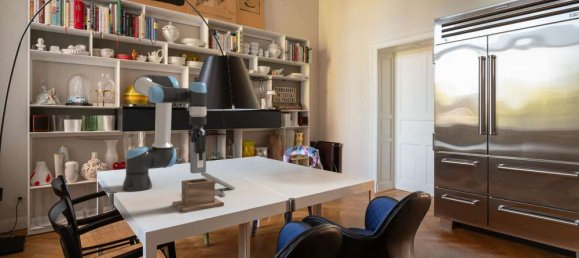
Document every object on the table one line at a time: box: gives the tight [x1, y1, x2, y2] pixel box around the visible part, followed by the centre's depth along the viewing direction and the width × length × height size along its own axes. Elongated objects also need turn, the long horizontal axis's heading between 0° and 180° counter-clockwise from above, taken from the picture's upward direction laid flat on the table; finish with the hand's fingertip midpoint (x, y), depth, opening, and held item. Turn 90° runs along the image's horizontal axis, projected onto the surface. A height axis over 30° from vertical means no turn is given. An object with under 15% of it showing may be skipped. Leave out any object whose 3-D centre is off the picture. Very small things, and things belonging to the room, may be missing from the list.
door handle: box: [200, 172, 236, 198], centre depth 176 cm, size 18×8×20 cm
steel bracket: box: [189, 141, 207, 174], centre depth 150 cm, size 4×6×14 cm, turn 127°
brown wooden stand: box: [172, 177, 225, 214], centre depth 151 cm, size 15×19×12 cm
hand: (198, 166), depth 150 cm, fingers closed on steel bracket, 4 cm apart
